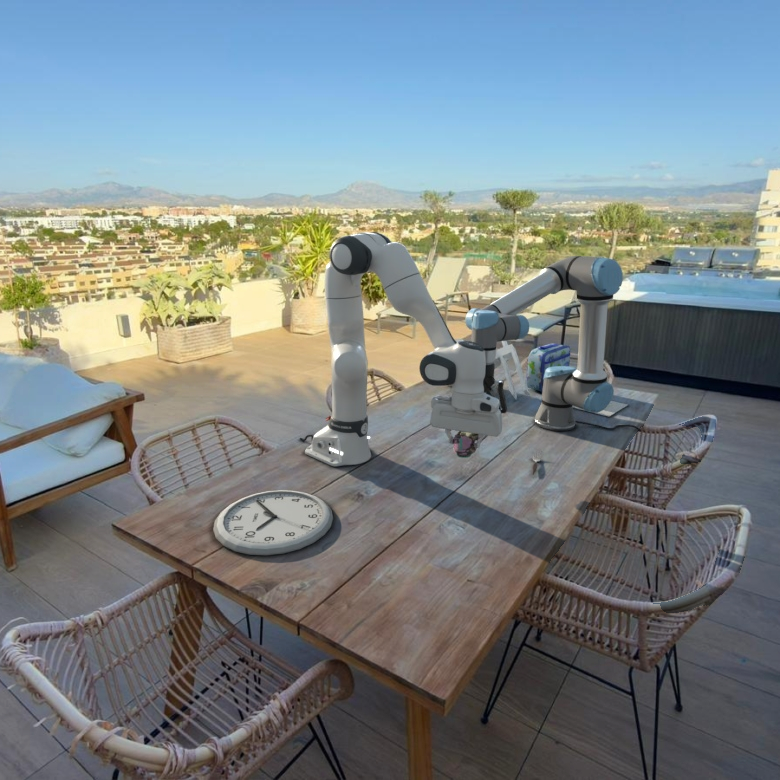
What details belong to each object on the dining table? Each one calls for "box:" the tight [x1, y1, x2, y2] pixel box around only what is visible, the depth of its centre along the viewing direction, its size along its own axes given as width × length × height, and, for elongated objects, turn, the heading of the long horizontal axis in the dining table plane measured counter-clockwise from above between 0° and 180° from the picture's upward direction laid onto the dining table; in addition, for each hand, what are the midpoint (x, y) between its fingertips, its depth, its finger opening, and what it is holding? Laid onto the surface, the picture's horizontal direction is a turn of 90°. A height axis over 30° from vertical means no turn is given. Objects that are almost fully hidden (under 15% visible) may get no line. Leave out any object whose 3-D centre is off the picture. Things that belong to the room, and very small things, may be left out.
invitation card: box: [573, 400, 629, 418], centre depth 226 cm, size 21×1×15 cm
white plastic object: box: [454, 338, 531, 400], centre depth 245 cm, size 37×45×31 cm
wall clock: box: [212, 489, 334, 556], centre depth 134 cm, size 30×2×30 cm
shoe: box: [452, 431, 488, 459], centre depth 157 cm, size 8×24×9 cm, turn 157°
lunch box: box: [525, 343, 571, 393], centre depth 249 cm, size 26×11×21 cm, turn 134°
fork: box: [532, 451, 543, 475], centre depth 168 cm, size 3×16×2 cm, turn 160°
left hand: (464, 445), depth 150 cm, fingers closed on shoe, 6 cm apart
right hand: (477, 430), depth 166 cm, fingers open, 10 cm apart
